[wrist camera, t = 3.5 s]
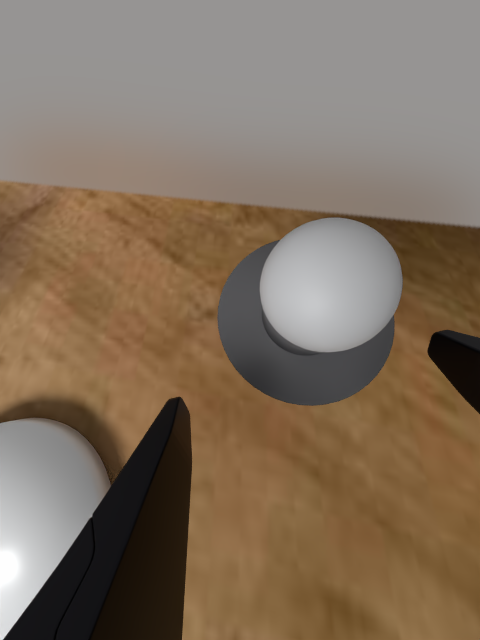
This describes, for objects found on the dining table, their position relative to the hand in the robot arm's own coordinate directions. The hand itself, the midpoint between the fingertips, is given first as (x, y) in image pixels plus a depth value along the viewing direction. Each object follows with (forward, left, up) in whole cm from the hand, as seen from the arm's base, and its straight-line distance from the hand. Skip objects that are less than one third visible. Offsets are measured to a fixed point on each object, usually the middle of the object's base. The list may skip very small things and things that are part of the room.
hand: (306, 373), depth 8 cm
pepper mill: (+1, -1, -9) cm, 9 cm away
